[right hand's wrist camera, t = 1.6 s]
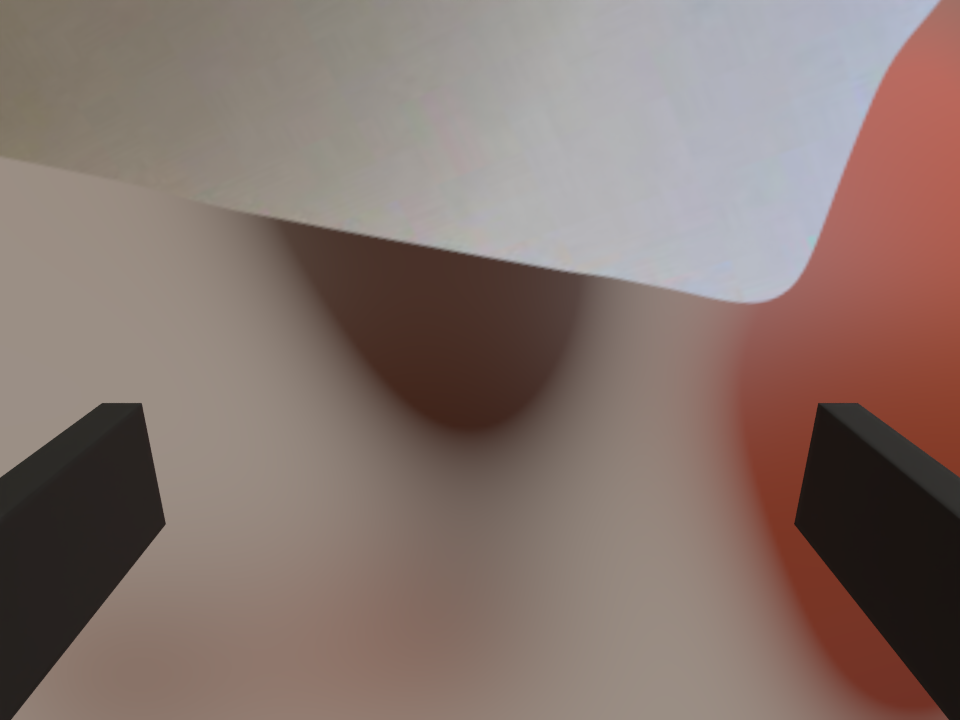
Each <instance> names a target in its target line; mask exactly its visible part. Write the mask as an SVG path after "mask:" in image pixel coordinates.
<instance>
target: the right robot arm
mask: <svg viewBox="0 0 960 720" xmlns="http://www.w3.org/2000/svg"><path fill="white" fill-rule="evenodd" d="M165 524H166V523H165V518H164V513H163V508H162V503H161V498H160V493H159V488H158V483H157V478H156V473H155V468H154V463H153V458H152V453H151V448H150V443H149V438H148V433H147V428H146V423H145V418H144V413H143V407H142V403H102V404H100V405H99V406H98V407H96V408H95V409H94V410H92V411H91V412H89V413H88V414H87V415H85V416H84V417H83V418H81V419H80V420H79V421H77V422H76V423H74V424H73V425H72V426H70V427H69V428H68V429H66V430H65V431H63V432H62V433H61V434H59V435H58V436H57V437H55V438H54V439H53V440H51V441H50V442H48V443H47V444H46V445H44V446H43V447H42V448H40V449H39V450H38V451H36V452H35V453H33V454H32V455H31V456H29V457H28V458H27V459H25V460H24V461H22V462H21V463H20V464H18V465H17V466H16V467H14V468H13V469H12V470H10V471H9V472H7V473H6V474H5V475H3V476H2V477H1V478H0V720H11V719H12V718H13V716H14V715H15V714H16V713H17V711H18V710H19V709H20V708H21V706H22V705H23V704H24V703H25V701H26V700H27V699H28V698H29V696H30V695H31V694H32V693H33V691H34V690H35V689H36V687H37V686H38V685H39V684H40V682H41V681H42V680H43V679H44V677H45V676H46V675H47V674H48V672H49V671H50V670H51V668H52V667H53V666H54V665H55V663H56V662H57V661H58V660H59V658H60V657H61V656H62V655H63V653H64V652H65V651H66V650H67V648H68V647H69V646H70V644H71V643H72V642H73V641H74V639H75V638H76V637H77V636H78V634H79V633H80V632H81V631H82V629H83V628H84V627H85V626H86V624H87V623H88V622H89V620H90V619H91V618H92V617H93V615H94V614H95V613H96V612H97V610H98V609H99V608H100V607H101V605H102V604H103V603H104V602H105V600H106V599H107V598H108V596H109V595H110V594H111V593H112V591H113V590H114V589H115V588H116V586H117V585H118V584H119V583H120V581H121V580H122V579H123V577H124V576H125V575H126V574H127V572H128V571H129V570H130V569H131V567H132V566H133V565H134V564H135V562H136V561H137V560H138V558H139V557H140V556H141V555H142V553H143V552H144V551H145V550H146V548H147V547H148V546H149V545H150V543H151V542H152V541H153V540H154V538H155V537H156V536H157V534H158V533H159V532H160V531H161V529H162V528H163V527H164V526H165ZM794 524H795V526H796V527H797V528H798V529H799V531H800V532H801V533H802V534H803V536H804V537H805V538H806V540H807V541H808V542H809V543H810V545H811V546H812V547H813V548H814V550H815V551H816V552H817V553H818V555H819V556H820V557H821V559H822V560H823V561H824V562H825V564H826V565H827V566H828V567H829V569H830V570H831V571H832V572H833V574H834V575H835V576H836V577H837V579H838V580H839V581H840V583H841V584H842V585H843V586H844V588H845V589H846V590H847V591H848V593H849V594H850V595H851V596H852V598H853V599H854V600H855V601H856V603H857V604H858V605H859V607H860V608H861V609H862V610H863V612H864V613H865V614H866V615H867V617H868V618H869V619H870V620H871V622H872V623H873V624H874V626H875V627H876V628H877V629H878V631H879V632H880V633H881V634H882V636H883V637H884V638H885V639H886V641H887V642H888V643H889V644H890V646H891V647H892V648H893V650H894V651H895V652H896V653H897V655H898V656H899V657H900V658H901V660H902V661H903V662H904V663H905V665H906V666H907V667H908V669H909V670H910V671H911V672H912V674H913V675H914V676H915V677H916V679H917V680H918V681H919V682H920V684H921V685H922V686H923V687H924V689H925V690H926V691H927V692H928V694H929V695H930V696H931V698H932V699H933V700H934V701H935V703H936V704H937V705H938V706H939V708H940V709H941V710H942V711H943V713H944V714H945V715H946V716H947V718H948V719H949V720H960V478H959V477H958V476H957V475H955V474H954V473H953V472H951V471H950V470H948V469H947V468H946V467H944V466H943V465H942V464H940V463H939V462H937V461H936V460H935V459H933V458H932V457H931V456H929V455H928V454H927V453H925V452H924V451H922V450H921V449H920V448H918V447H917V446H916V445H914V444H913V443H912V442H910V441H909V440H907V439H906V438H905V437H903V436H902V435H901V434H899V433H898V432H897V431H895V430H894V429H892V428H891V427H890V426H888V425H887V424H886V423H884V422H883V421H881V420H880V419H879V418H877V417H876V416H875V415H873V414H872V413H871V412H869V411H868V410H866V409H865V408H864V407H862V406H861V405H860V404H858V403H818V408H817V413H816V418H815V423H814V428H813V433H812V438H811V443H810V448H809V453H808V458H807V463H806V468H805V473H804V478H803V483H802V488H801V493H800V498H799V503H798V508H797V513H796V518H795V523H794Z"/></svg>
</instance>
